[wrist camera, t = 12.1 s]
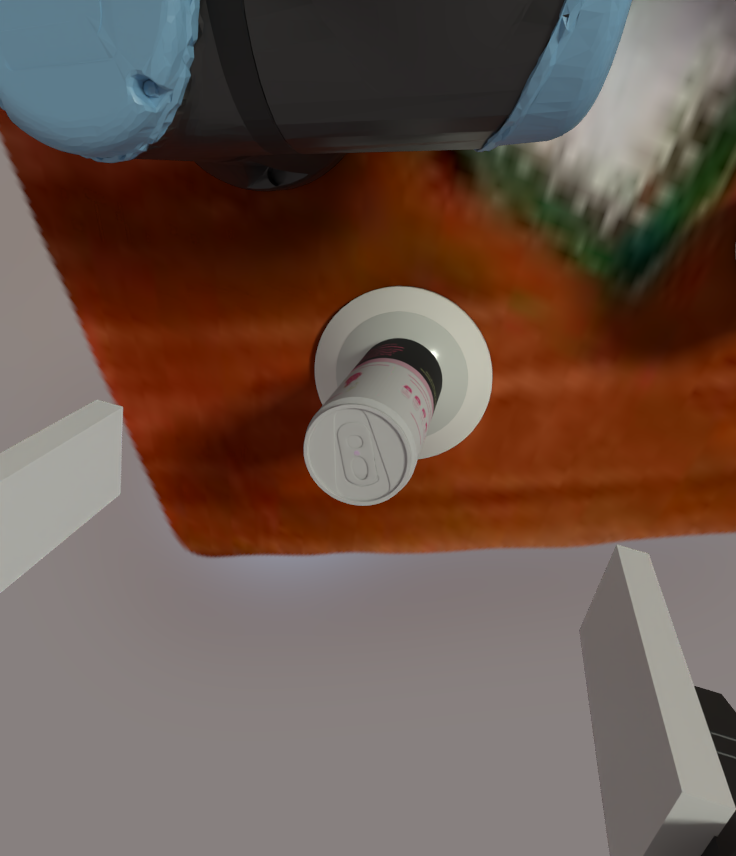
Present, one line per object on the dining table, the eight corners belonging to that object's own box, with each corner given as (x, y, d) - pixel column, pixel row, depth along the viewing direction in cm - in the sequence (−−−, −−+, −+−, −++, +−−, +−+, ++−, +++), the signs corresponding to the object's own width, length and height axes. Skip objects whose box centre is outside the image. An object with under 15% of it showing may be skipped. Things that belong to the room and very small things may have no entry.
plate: (285, 389, 52) (283, 392, 51) (379, 247, 46) (377, 248, 45) (421, 487, 52) (420, 491, 52) (531, 359, 46) (531, 362, 46)
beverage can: (367, 420, 50) (312, 510, 37) (353, 341, 48) (290, 406, 35) (447, 413, 49) (421, 506, 35) (437, 331, 47) (405, 396, 33)
